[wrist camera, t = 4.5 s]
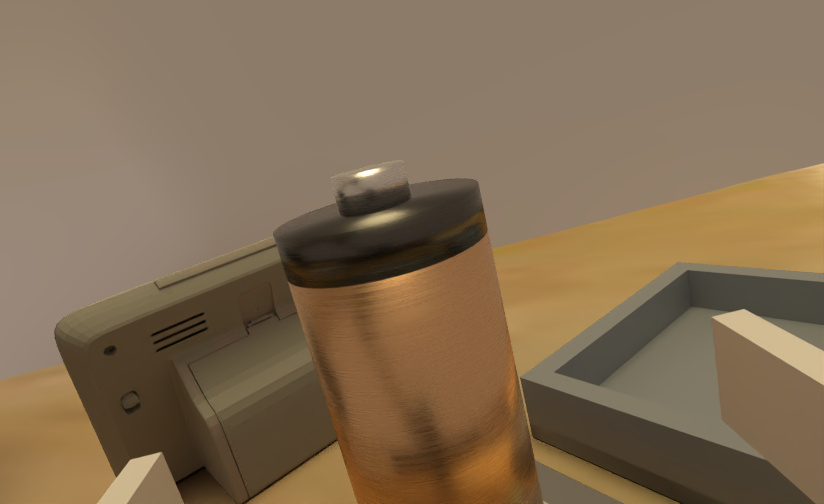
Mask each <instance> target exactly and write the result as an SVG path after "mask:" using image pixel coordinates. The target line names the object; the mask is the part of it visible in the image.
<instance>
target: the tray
mask: <svg viewBox="0 0 824 504" xmlns="http://www.w3.org/2000/svg"><path fill="white" fill-rule="evenodd" d="M742 309H745V310H747V311H749V312H751V313H753V314H754V315H756V316H758V317H760V318H762V319H764V320H766V321H768V322H770V323H771V324H773V325H775V326H777V327H779V328H781V329H783V330H785V331H787V332H788V333H790V334H792V335H794V336H796V337H798V338H800V339H802V340H804V341H805V342H807V343H809V344H811V345H813V346H815V347H817V348H819V349H821V350H822V351H824V273H811V272H798V271H785V270H772V269H759V268H746V267H733V266H720V265H707V264H694V263H681V262H677V263H676V264H675V265H673V266H672V267H671V268H669V269H668V270H666V271H665V272H664V273H662V274H661V275H660V276H658V277H657V278H656V279H654V280H653V281H651V282H650V283H649V284H647V285H646V286H645V287H643V288H642V289H640V290H639V291H638V292H636V293H635V294H634V295H632V296H631V297H630V298H628V299H627V300H625V301H624V302H623V303H621V304H620V305H619V306H617V307H616V308H614V309H613V310H612V311H610V312H609V313H608V314H606V315H605V316H604V317H602V318H601V319H599V320H598V321H597V322H595V323H594V324H593V325H591V326H590V327H588V328H587V329H586V330H584V331H583V332H582V333H580V334H579V335H578V336H576V337H575V338H573V339H572V340H571V341H569V342H568V343H567V344H565V345H564V346H562V347H561V348H560V349H558V350H557V351H556V352H554V353H553V354H552V355H550V356H549V357H547V358H546V359H545V360H543V361H542V362H541V363H539V364H538V365H536V366H535V367H534V368H532V369H531V370H530V371H528V372H527V373H526V374H524V375H523V376H521V377H520V379H521V384H522V388H523V393H524V398H525V403H526V407H527V412H528V417H529V421H530V426H531V431H532V436H533V437H534V438H537V439H539V440H541V441H543V442H546V443H548V444H550V445H552V446H555V447H557V448H559V449H561V450H564V451H566V452H568V453H570V454H573V455H575V456H577V457H579V458H582V459H584V460H586V461H588V462H591V463H593V464H595V465H597V466H600V467H602V468H604V469H606V470H609V471H611V472H613V473H615V474H618V475H620V476H622V477H624V478H627V479H629V480H631V481H633V482H636V483H638V484H640V485H642V486H645V487H647V488H649V489H651V490H654V491H656V492H658V493H660V494H663V495H665V496H667V497H669V498H672V499H674V500H676V501H678V502H681V503H683V504H815V503H814V502H813V501H812V500H811V499H810V498H809V497H808V496H807V495H805V494H804V493H803V492H802V491H801V490H800V489H799V488H798V487H796V486H795V485H794V484H793V483H792V482H791V481H790V480H789V479H788V478H786V477H785V476H784V475H783V474H782V473H781V472H780V471H779V470H777V469H776V468H775V467H774V466H773V465H772V464H771V463H770V462H769V461H767V460H766V459H765V458H764V457H763V456H762V455H761V454H760V453H758V452H757V451H756V450H755V449H754V448H753V447H752V446H751V445H750V444H748V443H747V442H746V441H745V440H744V439H743V438H742V437H741V436H740V435H738V434H737V433H736V432H735V431H734V430H733V429H732V428H731V427H729V426H728V425H727V424H726V423H725V422H724V421H723V420H722V417H721V407H720V397H719V388H718V378H717V368H716V358H715V348H714V338H713V328H712V318H711V317H713V316H717V315H722V314H726V313H730V312H734V311H738V310H742Z"/></svg>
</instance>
